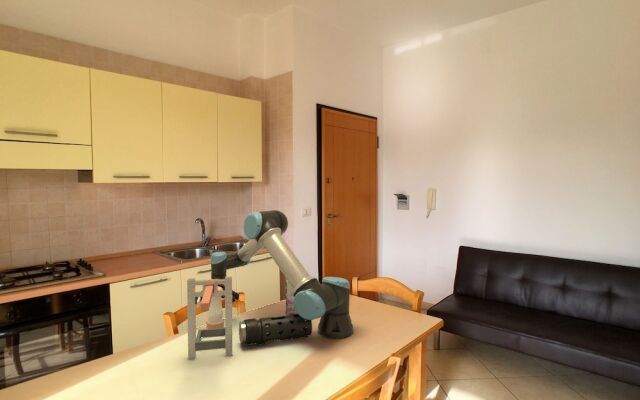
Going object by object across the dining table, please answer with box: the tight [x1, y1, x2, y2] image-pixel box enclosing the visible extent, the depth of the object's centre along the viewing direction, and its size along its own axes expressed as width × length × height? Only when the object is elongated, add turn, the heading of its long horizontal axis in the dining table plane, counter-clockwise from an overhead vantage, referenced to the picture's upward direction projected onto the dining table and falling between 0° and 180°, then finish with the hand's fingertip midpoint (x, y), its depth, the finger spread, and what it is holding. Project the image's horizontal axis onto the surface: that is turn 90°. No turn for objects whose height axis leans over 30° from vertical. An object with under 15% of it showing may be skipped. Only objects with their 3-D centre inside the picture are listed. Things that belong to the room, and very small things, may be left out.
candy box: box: [285, 279, 298, 315], centre depth 177 cm, size 14×6×16 cm, turn 77°
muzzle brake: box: [238, 314, 313, 346], centre depth 146 cm, size 10×28×10 cm, turn 110°
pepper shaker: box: [205, 286, 225, 329], centre depth 158 cm, size 7×7×19 cm
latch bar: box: [200, 278, 218, 312], centre depth 124 cm, size 22×5×5 cm, turn 12°
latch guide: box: [186, 276, 233, 361], centre depth 133 cm, size 2×15×29 cm, turn 102°
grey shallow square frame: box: [196, 327, 225, 351], centre depth 145 cm, size 12×12×3 cm
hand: (214, 304), depth 154 cm, fingers open, 13 cm apart
